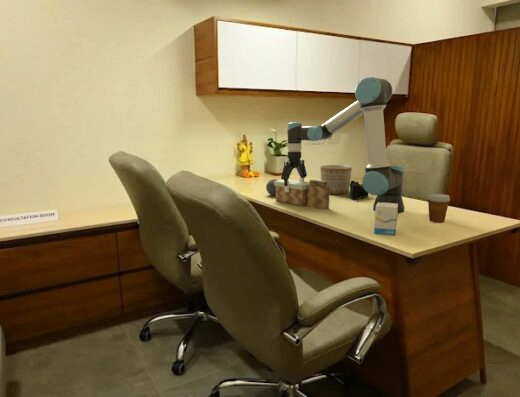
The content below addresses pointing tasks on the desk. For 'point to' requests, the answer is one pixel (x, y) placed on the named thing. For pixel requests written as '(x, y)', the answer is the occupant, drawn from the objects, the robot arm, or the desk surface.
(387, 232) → the ink box
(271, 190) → the decorative ball
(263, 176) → the desk surface
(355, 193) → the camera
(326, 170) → the planter
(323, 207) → the brown zigzag organizer box
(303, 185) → the lid
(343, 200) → the desk surface
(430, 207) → the disposable coffee cup
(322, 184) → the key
